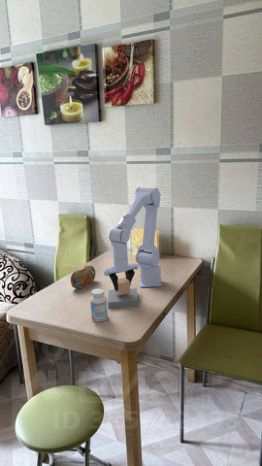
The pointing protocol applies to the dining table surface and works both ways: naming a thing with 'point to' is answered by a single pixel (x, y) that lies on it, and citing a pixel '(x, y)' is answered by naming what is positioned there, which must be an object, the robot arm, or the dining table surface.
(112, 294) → the gray block
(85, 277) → the tin
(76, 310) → the dining table surface
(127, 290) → the terracotta cube
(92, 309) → the pill bottle
